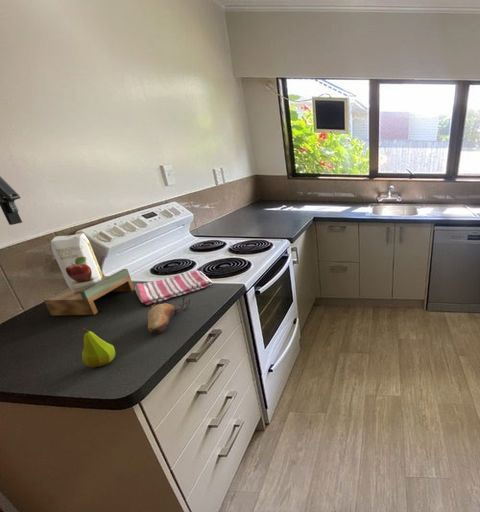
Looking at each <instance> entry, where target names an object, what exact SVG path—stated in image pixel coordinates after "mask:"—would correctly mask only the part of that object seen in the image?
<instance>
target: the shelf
mask: <svg viewBox="0 0 480 512" xmlns="http://www.w3.org/2000/svg"><path fill="white" fill-rule="evenodd" d="M134 286H135V285H134V284H133V280H132V278H131V276H130V272H129V269H128V268H123V269H122V268H121V270H119V271H116V272H115V273H113V274H111V275H104V276H103V275H102V280H101V281H99V282H97V283H95V284H93V285H91V286H89V287H87V288H85V289H83V290H81V291H80V292H75V293H74V292H73V291H72V290H71V289H70V288H69V287H68V288H66V289H64V290H61V291H59V292H57V293H55V294H53V295H51V296H49V297H47V298H45V299H43V302H44V304H45V306H46V308H47V310H48V312H49V314H50V316H94V315H96V314H98V313H99V310H98V309H97V307H96V305H95V300H97V299H99V298H101V297H103V296H105V295H106V294H108V293H110V292H133V291H135V288H134Z"/></svg>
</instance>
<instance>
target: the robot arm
mask: <svg viewBox="0 0 480 512" xmlns="http://www.w3.org/2000/svg"><path fill="white" fill-rule="evenodd" d="M20 199H21V196H20V194H18V192H17V191H16V190H15V189H14V188H13V187H12V186H11V185H10V184H9V183H8V182H7V181H5V179H4V178H3V177H2V176H1V175H0V208H1V211H2V212H3V215H4V217H5V219H6V222H7V223H8V225H10V226H13V225H18V224H22V223H23V221H22V218H21V216H20V214H19V209H18V207H17V204H16V203H15V201H16V200H20Z"/></svg>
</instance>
